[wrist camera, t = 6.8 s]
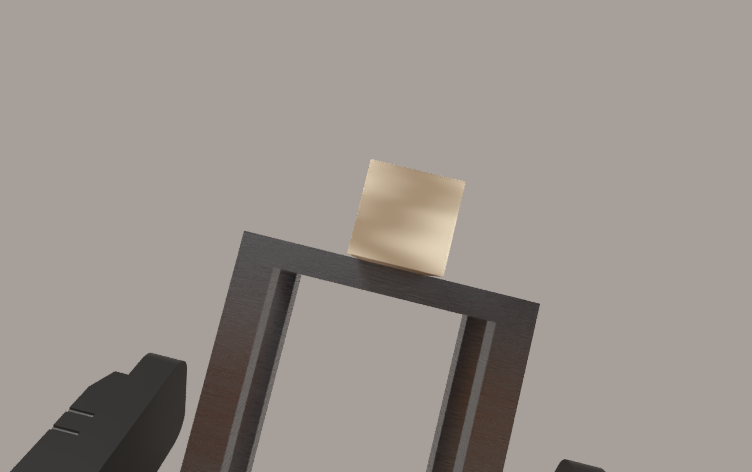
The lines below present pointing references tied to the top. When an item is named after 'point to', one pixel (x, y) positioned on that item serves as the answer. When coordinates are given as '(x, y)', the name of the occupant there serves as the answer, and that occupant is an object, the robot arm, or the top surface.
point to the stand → (289, 260)
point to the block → (406, 219)
